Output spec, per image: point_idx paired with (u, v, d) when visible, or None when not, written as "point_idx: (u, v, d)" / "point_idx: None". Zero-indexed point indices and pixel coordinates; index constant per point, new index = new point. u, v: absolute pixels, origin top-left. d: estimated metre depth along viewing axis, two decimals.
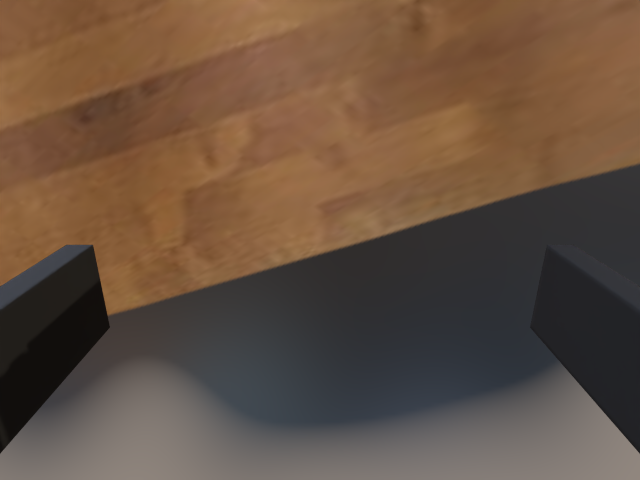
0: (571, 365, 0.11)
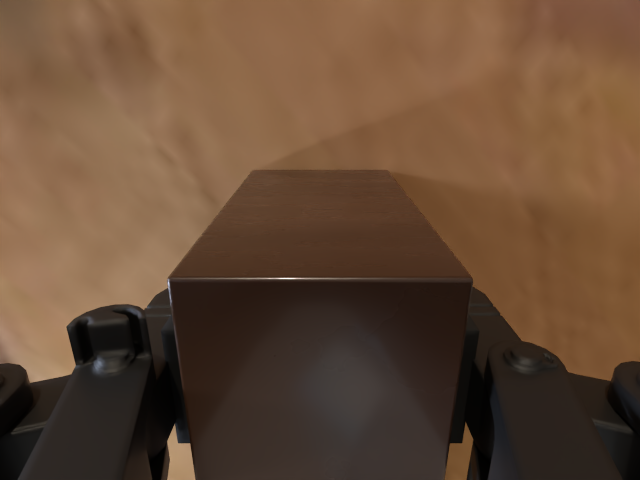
0: None
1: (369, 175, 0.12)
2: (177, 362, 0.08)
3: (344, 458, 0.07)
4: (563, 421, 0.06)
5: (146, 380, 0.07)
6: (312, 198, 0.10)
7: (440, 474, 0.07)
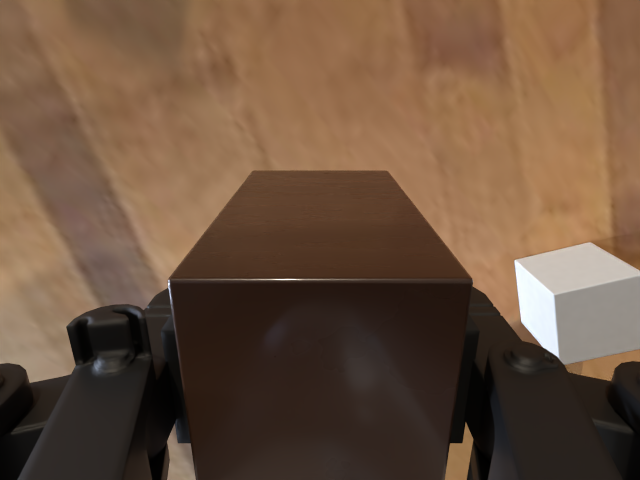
0: None
1: (369, 175, 0.13)
2: (177, 362, 0.08)
3: (344, 458, 0.07)
4: (563, 421, 0.06)
5: (146, 380, 0.07)
6: (312, 199, 0.10)
7: (440, 474, 0.07)
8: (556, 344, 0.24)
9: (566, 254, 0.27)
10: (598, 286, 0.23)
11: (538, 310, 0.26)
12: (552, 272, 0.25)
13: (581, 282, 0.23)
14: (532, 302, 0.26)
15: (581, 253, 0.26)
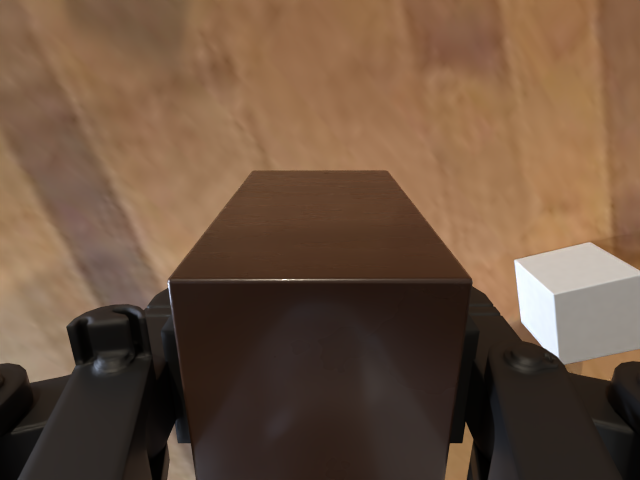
0: None
1: (369, 175, 0.13)
2: (177, 362, 0.08)
3: (344, 458, 0.07)
4: (563, 422, 0.06)
5: (146, 380, 0.07)
6: (312, 199, 0.10)
7: (440, 474, 0.07)
8: (556, 344, 0.24)
9: (566, 254, 0.27)
10: (598, 286, 0.23)
11: (538, 309, 0.26)
12: (552, 272, 0.25)
13: (581, 281, 0.23)
14: (532, 302, 0.26)
15: (581, 253, 0.26)
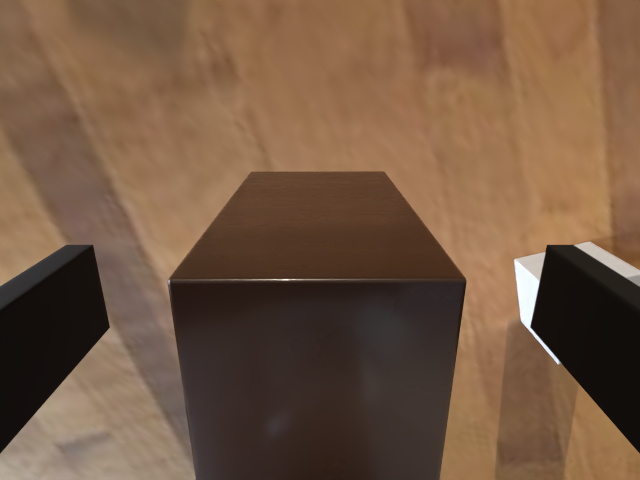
0: (571, 365, 0.11)
1: (366, 177, 0.13)
2: None
3: (341, 455, 0.07)
4: None
5: None
6: (310, 200, 0.10)
7: (436, 470, 0.07)
8: None
9: None
10: None
11: None
12: None
13: None
14: (531, 301, 0.27)
15: None
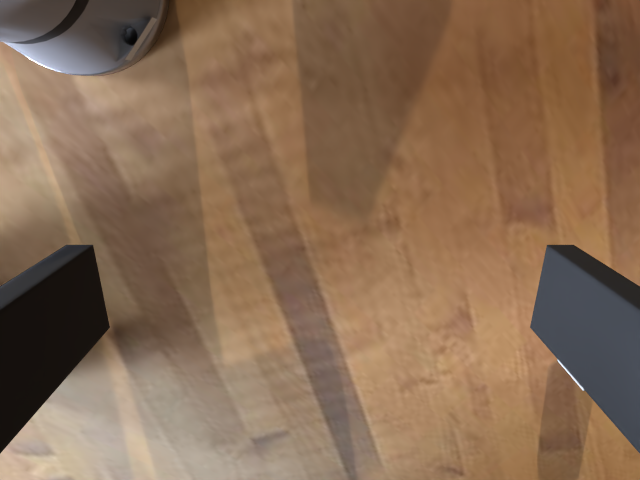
0: (571, 365, 0.11)
1: None
2: None
3: None
4: None
5: None
6: None
7: None
8: None
9: None
10: None
11: None
12: None
13: None
14: None
15: None
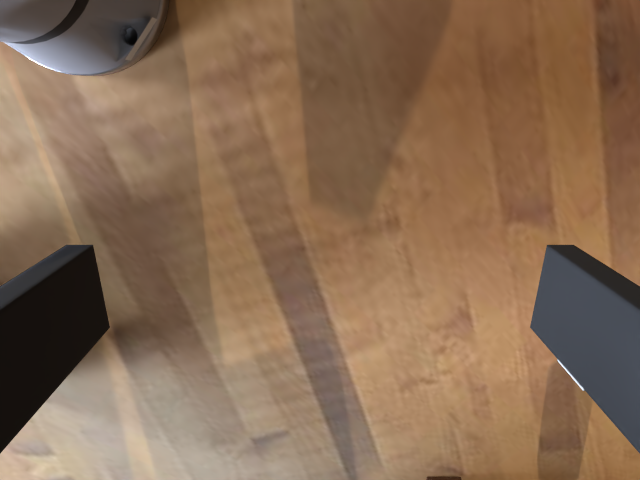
0: (571, 365, 0.11)
1: None
2: None
3: None
4: None
5: None
6: None
7: None
8: None
9: None
10: None
11: None
12: None
13: None
14: None
15: None
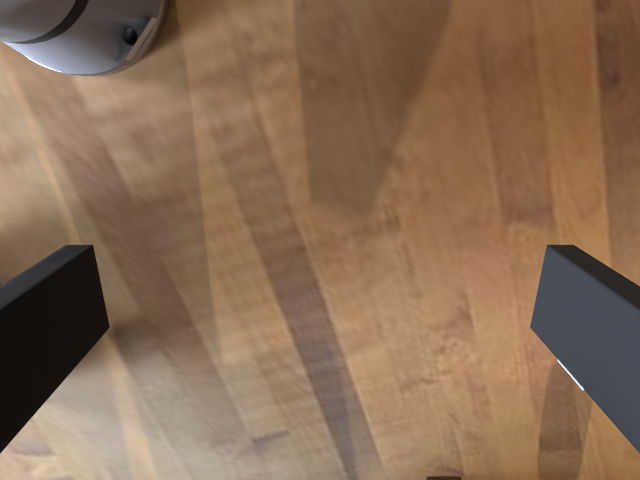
0: (571, 365, 0.11)
1: None
2: None
3: None
4: None
5: None
6: None
7: None
8: None
9: None
10: None
11: None
12: None
13: None
14: None
15: None
